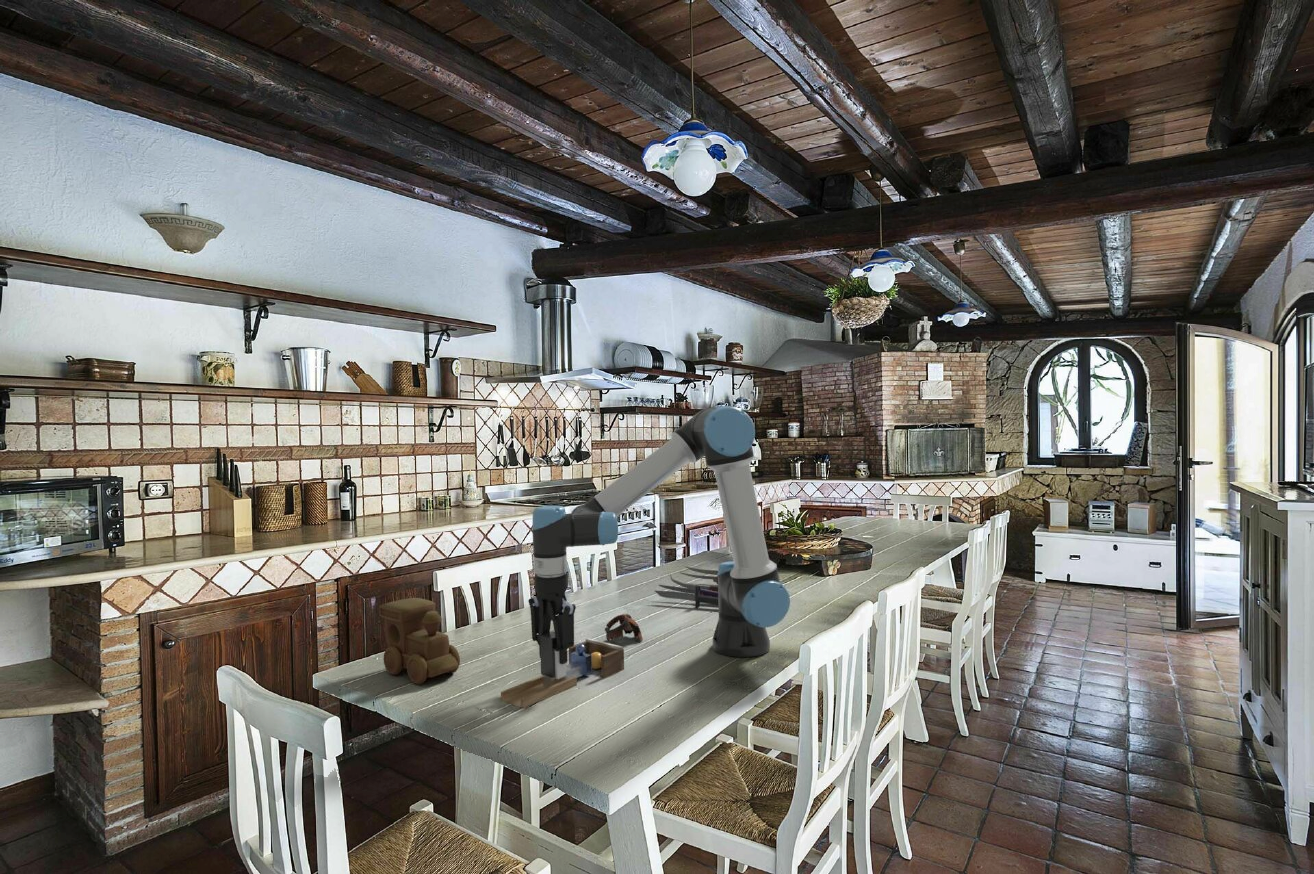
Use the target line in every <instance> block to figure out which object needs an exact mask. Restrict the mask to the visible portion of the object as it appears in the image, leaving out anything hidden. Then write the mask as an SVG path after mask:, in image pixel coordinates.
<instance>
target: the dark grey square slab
mask: <svg viewBox="0 0 1314 874" xmlns="http://www.w3.org/2000/svg"><path fill="white" fill-rule="evenodd" d="M562 644H563V643H562ZM578 644H579V643H578ZM576 645H577V644H576ZM556 648H557V644H556V638H555V632H554V631H550V632H549V633H546V634H543V635H540V651H539V652H540V655H541V658H540V676H542V679H543V686H545V687H550V686H553V685H555V684H558V683H560V682H562V681H565V680H567V679H569V678H572V677H577V678H580V677H582V676H584V677H587V676H590V675H592V674H593V668H592V665H591V655H589V654H585V651H586V647H585V646H584V645H583V644H579V645H577V647H576V651H575V652H573V653H571V664H569V663H568V664H566V674H567V675H566V676H564V677H562V678H559V679H556V675H555V649H556ZM540 655H539V656H540Z"/></svg>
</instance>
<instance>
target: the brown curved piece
mask: <svg viewBox="0 0 1314 874" xmlns="http://www.w3.org/2000/svg"><path fill="white" fill-rule="evenodd" d="M617 623H619V624H620V625H619V626H617V627H615V628H612V627H614V625H616V624H617ZM605 626H606V627H605V628H604V632H606V633H605V638H606V639H605V640H607V641H608V642H610V641H611V640H613V639H617V638H624V634H629V635H631V634H632V633H633V637H634V638H637V639H638V641H639V643H640V642H641V643H642V642H643V636H642V631H641V628H640V627H639V624H638V623H637V621H636V620H635V619H633V618H632V616H631V615H630V614H628V613H625V614H624V613H623V614H619V615H618V614H617V616H615V617H613V618H612V619H611V620H609V621H608V622H607V623H606V625H605ZM611 628H612V629H611ZM609 640H610V641H609Z"/></svg>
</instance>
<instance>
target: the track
mask: <svg viewBox="0 0 1314 874" xmlns="http://www.w3.org/2000/svg"><path fill="white" fill-rule="evenodd" d="M577 682H578V680H577V677H572V678H569V679H567V680H565V681H562V682H560V683H558V684H555V685H553V686H550V687H545V686H543V679H542V675H540V676H537V677H536V678H532V679H530V680H527V681H525V682H523V683H520V684H517V685H515V686H513V687H512V686H511V687H509V688H508V689H505V690H502V691H500V700H501V701H502V702H505V703H508V704H511V705H513V706H516V707H519V708H521V709H525V708H527V707H530V706H532V705H534V704H536V703H539V702H540V701H544V700H545V699H548V698H550V697H552V696H555V695H558V694H559V693H561V692H564V691H566V690H569V689H571V688H573V687H575V686H577V685H578V683H577Z"/></svg>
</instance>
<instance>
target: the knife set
mask: <svg viewBox="0 0 1314 874" xmlns="http://www.w3.org/2000/svg"><path fill="white" fill-rule="evenodd" d="M684 568H686V569H688V570H690V571H692V572H696V573H700V574H705V575H700V574H699V575H698V574H691V573H686V572H679V573H680V574H681V575H684V576H687V577H691V578H695V579H696V578H697V579H702V580H712V581H713V582H714V583H716V584H717V585H713V584H711V585H709V586H708V585H699V584H697V585H696V584H689V583H685V582H681V581H679V580H676V579H675V578H673V577H672V573H670V580H671V581H672V583H674V584H676V585H678V586H672V585H665V584H664V585H663V584H658V586H659V587H661V588H664V589H666V590H654V592H655V593H656V594H657V595H658V596H659V597H660V598H665V599H673V600H675V599H676V600H678V599H679V600H684V601H690V602H694V605H695V609H696V608H697V609H699V608H700V605H701V604H709V605H714V606H715V605H717V606H718V577H717V574H718V570H715V569H702V568H697V567H696V568H695V567H690V566H685V565H684ZM710 575H711V576H710ZM679 586H681V587H679ZM667 590H668V591H667ZM669 590H670V591H669Z"/></svg>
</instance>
